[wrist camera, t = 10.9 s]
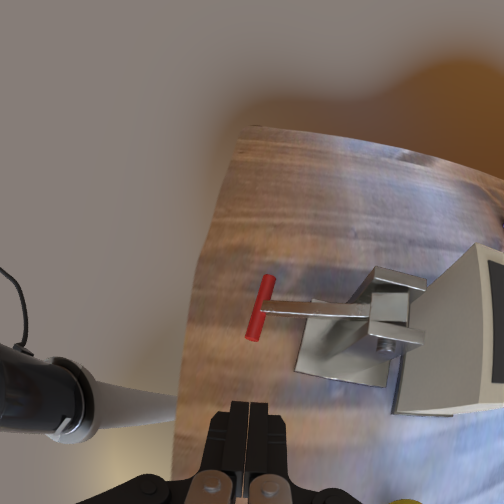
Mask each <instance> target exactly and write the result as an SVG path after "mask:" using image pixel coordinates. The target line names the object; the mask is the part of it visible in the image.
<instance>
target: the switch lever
mask: <svg viewBox="0 0 504 504" xmlns="http://www.w3.org/2000/svg"><path fill="white" fill-rule="evenodd" d="M275 281H276V278H275V277H274V276H272V275H269V274H265V275H264V276H263V279H262V282H261V285H260V289H259V292H258V295H257V299H256V302H255V305H254V309H253V312H252V315H251V318H250V322H249V325H248V328H247V331H246V335H245V338H246V339H248V340H250V341H254V342H258V341H259V338H260V334H261V331H262V327H263V324H264V320H265V317H266V315H268V316H280V317H292V318H306V319H322V320H341V321H369V320H374V321H379V322H383V323H388V324H393V325H398V326H403V327H408V316H409V293H372V295H371V304H350V303H317V302H293V301H274V300H270V299H271V296H272V292H273V289H274V285H275Z"/></svg>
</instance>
